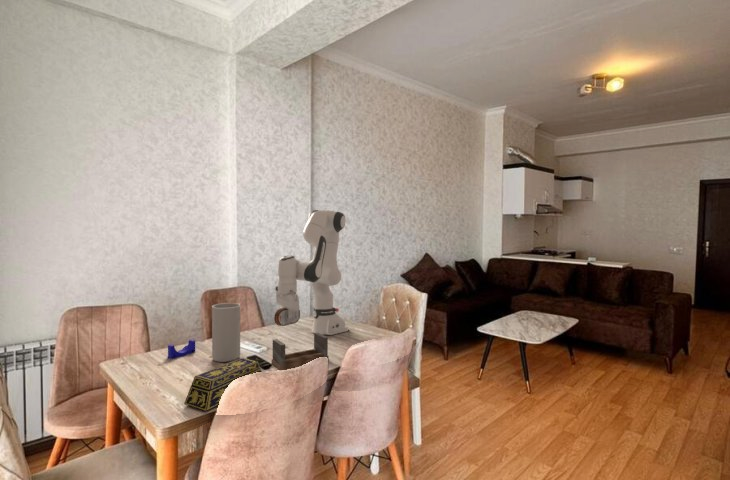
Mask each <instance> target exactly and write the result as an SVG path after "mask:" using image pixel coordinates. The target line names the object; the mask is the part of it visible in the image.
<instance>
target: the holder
mask: <svg viewBox="0 0 730 480" xmlns="http://www.w3.org/2000/svg"><path fill="white" fill-rule="evenodd" d="M328 340H329V337H328V336H327V335H325V334H320V333H318V332H317V333H313V348H312V349H305V350H301V351H295V352H292V353H291V352H290V353H286V343H283V341H281V340H279V339H278V338H274V339H272V358H271V365H272V366H274V367H275V368H277V370H279V371H284V370H290V369H294V367H295V368H298V366H299V367H302V366H301V365H303V364H306V363H308V362H310V361H312V360H314V359H316V358H319V357H327V358H328V361H330V359H329V351H328V350H329V349H328V348H329V347H328V343H329V342H328ZM289 368H290V369H289Z"/></svg>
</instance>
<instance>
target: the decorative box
mask: <svg viewBox="0 0 730 480" xmlns="http://www.w3.org/2000/svg"><path fill="white" fill-rule="evenodd" d="M256 372H262V373H263V371H262V368H261V366H260V364H259V361H257V360H254V359H249V358H246V357H239V358H238V359H236V360H233V361H229V362H226V363H225V364H222V365H220V366H218V367H215V368H213V369H210V370H207V371H204V372H203V373H200V374H198V375H195V376H194V377H193V380H192V382H191V385H190V388H189V389H188V393H187V394H186V395H187V396H186V398H185V401H184V406H185V405H186V406H187V407H192V408H195V409H197V410H202V411H204V412H207V411H208V410H211V409H212V408H215V407H217V406H219V405H220V404H219V401H220V399H221V396H222V394H223V393H224V391H225V389H226V388H227V387H228V385H229V384H230V383H231V382H232V381H233V380H235V379H237V378H239V377H242V376H245V375H249V374H253V373H256ZM218 404H219V405H218Z"/></svg>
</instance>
